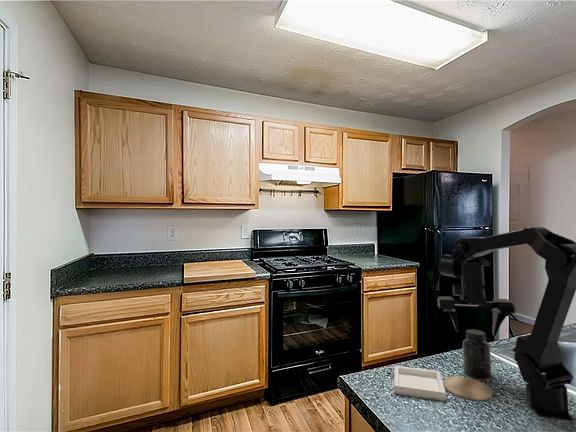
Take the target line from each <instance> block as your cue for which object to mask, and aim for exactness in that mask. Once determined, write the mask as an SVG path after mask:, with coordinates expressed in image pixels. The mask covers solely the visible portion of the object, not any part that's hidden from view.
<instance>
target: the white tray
mask: <svg viewBox="0 0 576 432" xmlns="http://www.w3.org/2000/svg"><path fill="white" fill-rule="evenodd" d="M393 380H394V381H393V386H394V387H393V389H394V390H393V391H394V393H393V394H396V395H400V396H401V395H402V396H408V397H409V396H410V397H416V398H423V399H428V400H435V401H443V402H447V392H446V388H445V387H444V380H443V378H442V375H441V371H440V370H435V369H433V370H432V369H427V368H426V369H424V368H416V367H407V366H401V365H400V366H399V365H394V378H393Z"/></svg>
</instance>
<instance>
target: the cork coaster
mask: <svg viewBox="0 0 576 432" xmlns="http://www.w3.org/2000/svg"><path fill="white" fill-rule="evenodd" d="M443 385H444V388H445V390H447V392H449V393H450V394H452V395H454V396H457V397H459V398H462V399H466V400H468V401H469V400H470V401H487V400H489V399H491V398H492V396H493V389H492V388H491V387H490V386H489V385H488V384H486V383H485V382H482V381H480V380H477V379H476V378H473V377H472V378H471V377H467V376H456V375H455V376H448V377H446V378H445V379H444V380H443Z"/></svg>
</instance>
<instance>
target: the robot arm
mask: <svg viewBox="0 0 576 432" xmlns="http://www.w3.org/2000/svg"><path fill="white" fill-rule="evenodd" d="M527 245H528V246H530V247H531V249H532V250H533V251H534V253H535V254H536V255H538V256H539V257H540V258H541V259H544V260H545V263H544V270H545V273H546V276H547V284H546V287H545V288H544V292H543V296H542V298H541V301H540V304H539V308H538V311H537V314H536V317H535V321H534V323H533V326H532V330H531V332H530V333H529V334H526V335H521V336H517V338H516V343H515V347H514V348H512V352H514V356H513V357H514V358H513V359H514V361H515V362H516V364H517V367H518V369H519V373H520V375H521V378H522V380H523V382H526V384H525V394H526V395H525V396H526V398H525V399H526V402H527V403H528V405H529V406H530V407H531V408H532V410H533V411H534V412H535V414H536V415H539V416H545V417H550V418H559V419H563V420H570V421H571V420H574V418H573V416H572V414H571V413H569V401H568V399H569V398H568V397H569V396H568V387H567V386H566V385H571V384H572V382H573V380H574V375H573V374H572V373H571V372H570V371H569V370H568V369H567V367H566V366H565V365H564V363H562V362H561V355H562V352H561V350H560V347H559V344H558V341H559V339H560V335H561V333H562V330H563V327H564V325H565V321H566V319H567V316H568V314H569V310H570V308H571V305H572V303H573V299H574V296H575V294H576V241H574V240H572V239H570V238H568V237H565V236H563V235H559V234H557V233H556V232H555V233H554V232H553V231H551V230H549V229H548V228H545V227H542V226H529V227H528V226H527V227H524V228H523V229H518V230H513V231H509V232H504V233H498V234H494V235H493V234H492V235H489V236H476V237H475V236H473V237H470V236H469V237H460V238H458V239H457V240H456V243H455V246H454V247H453V249H452V251H451V253H450V254H443V255H442V258H441V260H439V263H438V265H437V269H438V272H439V273H440V275H442V276H447V277H452V278H457V279H461V284H452V295H453V296H454V297H455V296H457V297H458V296H459V299H454V298H453V297H452V296H444V295H443V296H441V295H440V296H438V297H437V307H438V308H439V309H440V310H442V311H444V313H447V314H449V316H450V318H451V321H452V324H453V325H454V329H455V331H456V333H457V334H459V333H460V327H459V319H458V315H457V314H458V313H457V310H456V309H455V308H460V307H461V308H477V309H491V312H492V327H491V328H492V336H493V337H496V336H497V334H498V331H499V330H500V327H501V324H503V322H504V320H505V319H506V317H510V316H511V314H516V306H515V304H514V303H513V302H512V301H510V300H509V299H507V298H492V301H487V300H486V292H485V290H486V286H485V273H484V267H487V266H488V267H489V266H491V262H489V261H488V260H487V259H486V258H485V257H484V256H485V255H489V254H491V253H492V252H494V251H497V250H502V249H507V248H509V249H510V248H515V247H522V246H527ZM460 285H461V286H460Z"/></svg>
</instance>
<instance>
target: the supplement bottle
mask: <svg viewBox="0 0 576 432" xmlns="http://www.w3.org/2000/svg"><path fill="white" fill-rule="evenodd" d="M486 340H487V337H486V333H485V332H484V331H482V330H479V329H466V331H465V339H464V340H463V341H462V357H463V359H462V360H463V371H464V373H465V374H467V376H469V377H472V378H473V379H480V380H487V379H491V377H492V357H491V354H492V353H491V345H490V344H489V343H488V342H487V341H486Z"/></svg>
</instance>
